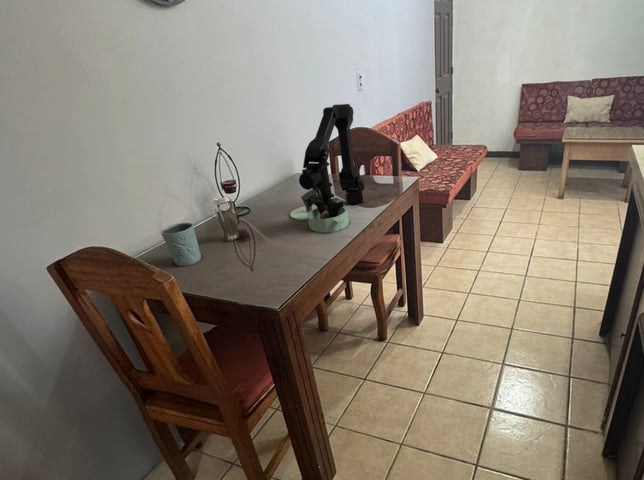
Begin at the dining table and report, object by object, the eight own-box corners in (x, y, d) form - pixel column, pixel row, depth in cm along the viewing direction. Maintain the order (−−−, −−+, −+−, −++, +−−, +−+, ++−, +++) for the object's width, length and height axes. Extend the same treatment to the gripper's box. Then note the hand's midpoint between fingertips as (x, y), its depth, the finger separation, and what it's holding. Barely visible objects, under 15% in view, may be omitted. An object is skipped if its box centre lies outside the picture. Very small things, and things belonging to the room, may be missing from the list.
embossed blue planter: (173, 269, 140) (160, 236, 134) (173, 258, 148) (161, 226, 142) (204, 261, 143) (193, 229, 137) (203, 251, 151) (192, 220, 145)
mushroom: (344, 213, 162) (333, 202, 158) (338, 227, 157) (325, 216, 154) (332, 220, 167) (320, 209, 164) (325, 234, 163) (313, 224, 160)
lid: (319, 204, 184) (316, 192, 182) (336, 213, 172) (334, 200, 170) (284, 214, 177) (281, 201, 174) (300, 224, 165) (297, 210, 162)
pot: (334, 213, 173) (332, 201, 170) (359, 226, 158) (357, 213, 155) (300, 223, 166) (297, 211, 164) (323, 238, 151) (321, 224, 148)
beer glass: (225, 243, 155) (213, 204, 148) (222, 237, 161) (210, 200, 153) (244, 238, 158) (233, 200, 150) (240, 233, 163) (229, 195, 156)
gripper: (291, 181, 157) (299, 220, 165) (312, 191, 143) (320, 234, 151) (318, 174, 161) (324, 213, 169) (341, 184, 148) (347, 225, 156)
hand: (328, 221), depth 161 cm, fingers closed on mushroom, 8 cm apart
